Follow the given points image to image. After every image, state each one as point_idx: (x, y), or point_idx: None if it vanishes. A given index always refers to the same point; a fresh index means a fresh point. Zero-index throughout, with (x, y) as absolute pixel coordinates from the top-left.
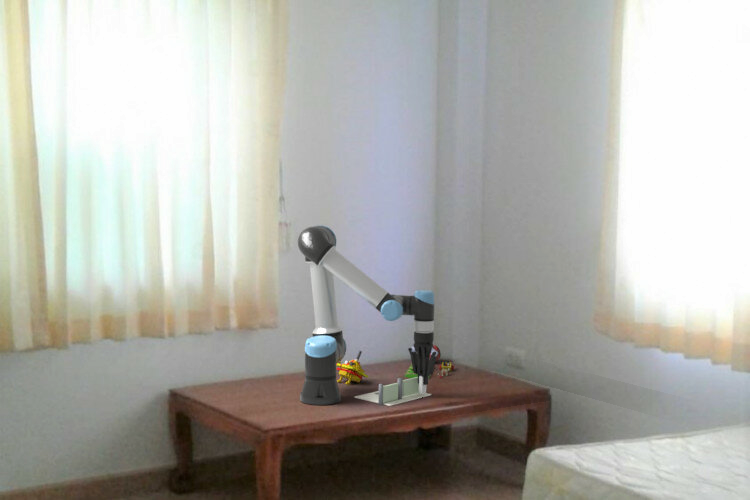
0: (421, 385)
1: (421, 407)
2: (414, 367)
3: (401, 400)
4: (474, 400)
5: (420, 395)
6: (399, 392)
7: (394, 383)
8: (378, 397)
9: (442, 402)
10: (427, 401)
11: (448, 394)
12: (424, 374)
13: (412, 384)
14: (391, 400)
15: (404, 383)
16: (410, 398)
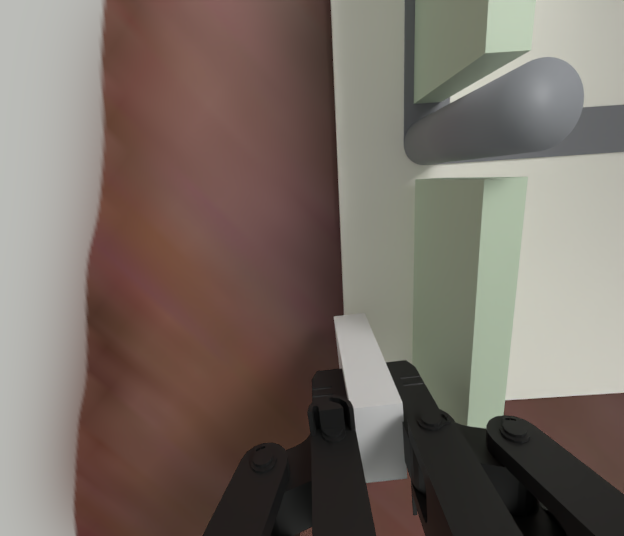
0: (349, 348)
1: (120, 83)
2: (569, 494)
3: (369, 102)
4: (81, 493)
5: (375, 334)
6: (433, 112)
7: (524, 2)
8: (588, 17)
9: (153, 322)
10: (239, 265)
11: None
12: (323, 442)
13: (445, 318)
14: (416, 3)
15: (467, 193)
16: (364, 212)
